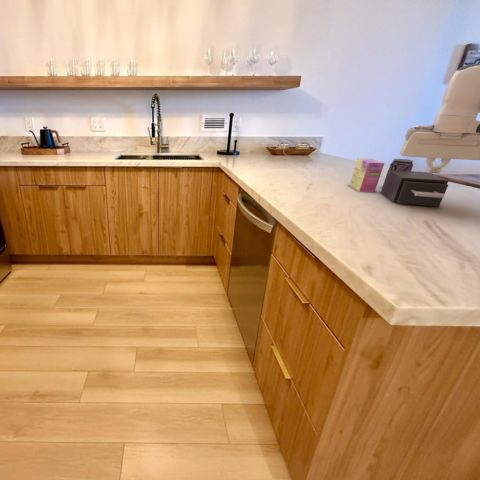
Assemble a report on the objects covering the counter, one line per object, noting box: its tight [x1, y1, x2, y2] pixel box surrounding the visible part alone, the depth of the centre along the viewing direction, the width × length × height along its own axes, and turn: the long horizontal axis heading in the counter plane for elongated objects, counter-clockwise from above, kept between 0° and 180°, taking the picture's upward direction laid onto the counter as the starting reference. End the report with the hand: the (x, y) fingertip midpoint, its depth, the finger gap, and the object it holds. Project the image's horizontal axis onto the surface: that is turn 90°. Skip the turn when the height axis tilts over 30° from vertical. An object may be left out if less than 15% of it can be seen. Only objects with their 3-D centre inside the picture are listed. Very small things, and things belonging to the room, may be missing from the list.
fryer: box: [380, 169, 449, 208], centre depth 103 cm, size 15×13×9 cm
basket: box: [397, 180, 449, 207], centre depth 99 cm, size 18×11×7 cm, turn 159°
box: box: [348, 157, 385, 193], centre depth 116 cm, size 10×6×12 cm, turn 168°
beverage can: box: [388, 158, 414, 171], centre depth 115 cm, size 7×7×12 cm
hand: (432, 172), depth 91 cm, fingers closed
